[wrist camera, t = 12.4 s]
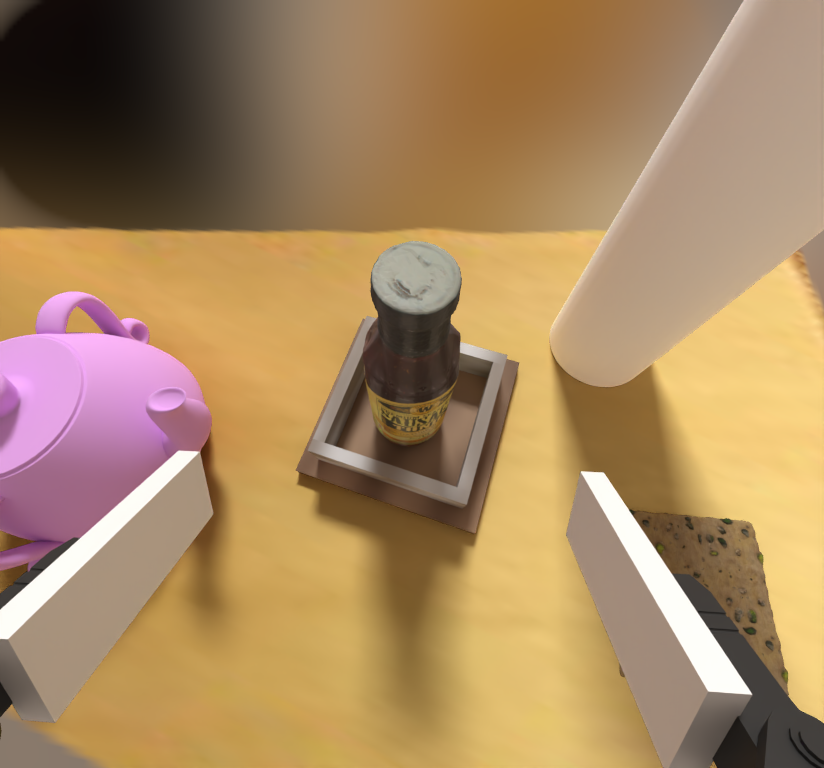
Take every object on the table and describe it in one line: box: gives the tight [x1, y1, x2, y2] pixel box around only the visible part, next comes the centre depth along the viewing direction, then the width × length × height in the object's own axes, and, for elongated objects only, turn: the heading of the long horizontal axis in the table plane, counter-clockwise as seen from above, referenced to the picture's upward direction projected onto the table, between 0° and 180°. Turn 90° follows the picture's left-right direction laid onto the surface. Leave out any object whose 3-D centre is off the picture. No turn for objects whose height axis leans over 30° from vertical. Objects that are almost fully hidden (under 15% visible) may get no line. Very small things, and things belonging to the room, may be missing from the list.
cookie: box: [619, 510, 789, 695], centre depth 30 cm, size 12×12×1 cm
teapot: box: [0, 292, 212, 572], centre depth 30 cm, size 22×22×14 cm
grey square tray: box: [296, 316, 519, 534], centre depth 34 cm, size 16×16×4 cm
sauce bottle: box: [362, 241, 462, 447], centre depth 26 cm, size 6×6×20 cm
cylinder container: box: [549, 0, 824, 387], centre depth 25 cm, size 9×9×30 cm
